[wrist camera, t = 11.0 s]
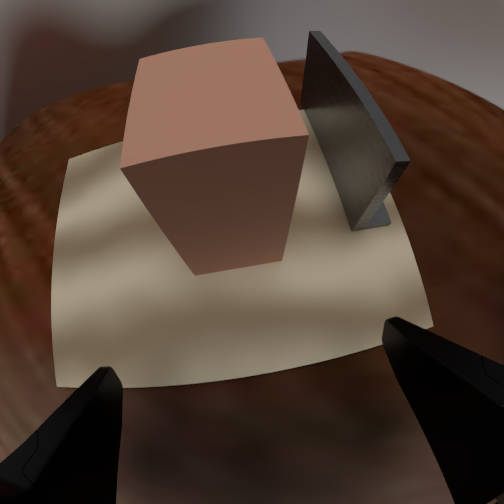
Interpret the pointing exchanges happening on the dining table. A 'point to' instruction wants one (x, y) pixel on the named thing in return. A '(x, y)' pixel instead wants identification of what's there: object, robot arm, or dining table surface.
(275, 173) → the salmon pink rectangular block
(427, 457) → the dining table surface
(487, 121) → the dining table surface
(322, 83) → the bookend
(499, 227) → the dining table surface
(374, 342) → the beige cloth placemat
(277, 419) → the dining table surface
